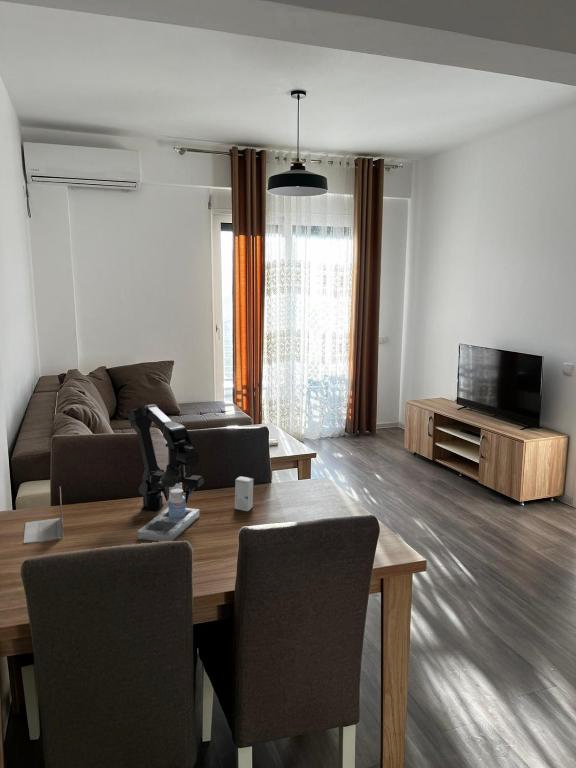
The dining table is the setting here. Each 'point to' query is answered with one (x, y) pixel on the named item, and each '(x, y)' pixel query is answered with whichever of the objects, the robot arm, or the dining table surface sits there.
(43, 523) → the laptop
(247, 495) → the skincare box
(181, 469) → the robot arm
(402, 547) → the dining table surface
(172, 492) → the pill bottle
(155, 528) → the white compartment tray
